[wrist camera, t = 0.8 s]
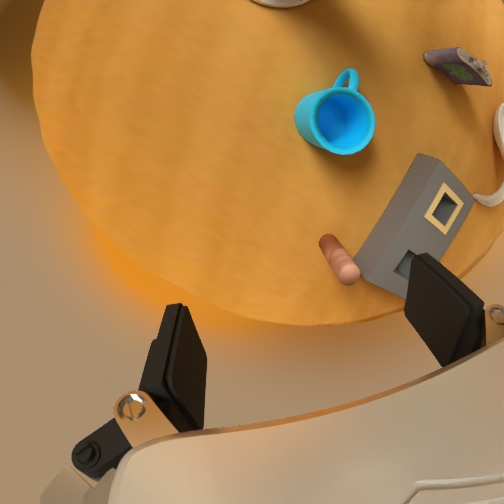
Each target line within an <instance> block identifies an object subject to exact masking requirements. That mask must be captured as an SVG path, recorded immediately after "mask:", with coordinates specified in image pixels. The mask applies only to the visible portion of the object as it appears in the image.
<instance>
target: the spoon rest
mask: <svg viewBox="0 0 504 504" xmlns="http://www.w3.org/2000/svg"><path fill="white" fill-rule="evenodd" d="M493 134H494V137H495V140H496V143H497V145H498V147H499V150H500V152H501V155H502V158H503V161H504V102H503V103H502V104H501V105H500V106H499V107H498V108H497V110H496V112H495V116H494V122H493ZM473 197H474V198H475V199H476V200H477V201H478V202H480V203H481V204H482V205H484V206H488V207H493V206H497V205H498V204H500V203H501V202H502V201H504V180H503V182H502V184H501V186H500V187H499V189H498V190H497V191H496V192H495V193H493V194H491V195H481V194H477V193H474V194H473Z"/></svg>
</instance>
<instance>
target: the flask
mask: <svg viewBox="0 0 504 504" xmlns="http://www.w3.org/2000/svg"><path fill="white" fill-rule="evenodd" d="M423 59H424V60H425V61H426V63H427V64H428V65H429V66H432V67H434V68H435V69H436V70H437V71H438V72H440V73H441V74H444V75H445V77H448V78H449V79H450V80H451V81H452V82H453V83H454V84H468V85H481V86H492V77H491V76H490V74H489V73H488V72H487V70H486V69H485V68H486V65H487V63H486V61H485V60H483V61H484V63H485V64H486V65H485V64H484V63H483V62H480V61H478V60H477V59H476V58H475V57H473V56H472V55H471V54H470V53H468V52H467V51H465V50H464V49H462V48H460V47H457V48H450V49H442V50H436V51H429V52H425V53H424V57H423ZM481 60H482V59H481Z"/></svg>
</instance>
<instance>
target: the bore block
mask: <svg viewBox="0 0 504 504" xmlns="http://www.w3.org/2000/svg"><path fill="white" fill-rule="evenodd" d="M474 202H475V199H474V197H473V196H472V195H471V194H470V192H469V191H468V190H467V189H466V188H465V187H464V185H463V184H462V183H461V182H460V181H459V180H458V179H457V178H456V176H455V175H454V174H453V173H452V172H451V171H450V170H449V169H448V168H447V167H446V166H445V165H444V164H443V163H442V162H441V161H440V160H438V159H435V158H432V157H429V156H426V155H423V154H420V153H418V154H417V155H416V157H415V159H414V161H413V163H412V165H411V166H410V168H409V170H408V172H407V174H406V175H405V177H404V179H403V181H402V182H401V184H400V186H399V188H398V189H397V191H396V193H395V194H394V196H393V198H392V200H391V201H390V203H389V204H388V206H387V208H386V209H385V211H384V213H383V214H382V216H381V218H380V219H379V221H378V222H377V224H376V225H375V227H374V229H373V230H372V232H371V233H370V235H369V236H368V238H367V239H366V241H365V242H364V244H363V245H362V247H361V248H360V250H359V251H358V253H357V254H356V256H355V257H354V259H353V261H354V263H355V264H356V265H357V267H358V268H359V270H360V273H361V275H362V276H363V278H364V279H365V280H366V281H368V282H370V283H372V284H374V285H376V286H378V287H381V288H383V289H385V290H387V291H389V292H391V293H393V294H395V295H397V296H399V297H401V298H403V299H405V300H406V296H407V289H408V282H409V274H410V265H411V261H412V259H413V258H414V256H415V255H418V254H422V253H428V254H430V255H431V256H432V257H433V258H435V259H436V260H437V261H438V262H439V260H440V259H441V257H442V256H443V254H444V253H445V251H446V250H447V248H448V247H449V245H450V244H451V242H452V240H453V239H454V237H455V235H456V234H457V232H458V230H459V229H460V227H461V225H462V224H463V222H464V220H465V218H466V217H467V215H468V213H469V211H470V209H471V208H472V206H473V204H474Z"/></svg>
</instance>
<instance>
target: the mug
mask: <svg viewBox="0 0 504 504" xmlns="http://www.w3.org/2000/svg"><path fill="white" fill-rule="evenodd" d="M349 77H350V80H349V85H348V88H347V87H343V85H344V84H345V82H346V81H347V79H348V78H349ZM358 85H359V75H358V73H357V71H356V70H355V69H353V68H347V69H345V70H344V71H343V72H342V73H341V74H340V75H339V77H338V78H337V80H336V81H335V83H334V85H333V87H332V88H330V89H326V90H322V91H318V92H314V93H312V94H309V95H307V96H306V97H304V98H303V99H302V100H301V101H300V103H299V104H298V106H297V108H296V112H295V124H296V127H297V129H298V132H299V134H300V135H301V136H302V137H303V138H304V139H305V140H306V141H307V142H309V143H311V144H312V145H315V146H317V147H320V148H323V149H325V150H328V151H330V152H333V153H337V154H341V155H346V154H353V153H356V152H358V151H360V150H362V149H363V148H364V147H365V146H366V145H367V144H368V143H369V142H370V140H371V138H372V136H373V133H374V129H375V117H374V113H373V110H372V108H371V105H370V104H369V103H368V101H367V100H366V99H365V97H364V96H362V95H361V94H360V93H358V92H357V90H358Z"/></svg>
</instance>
